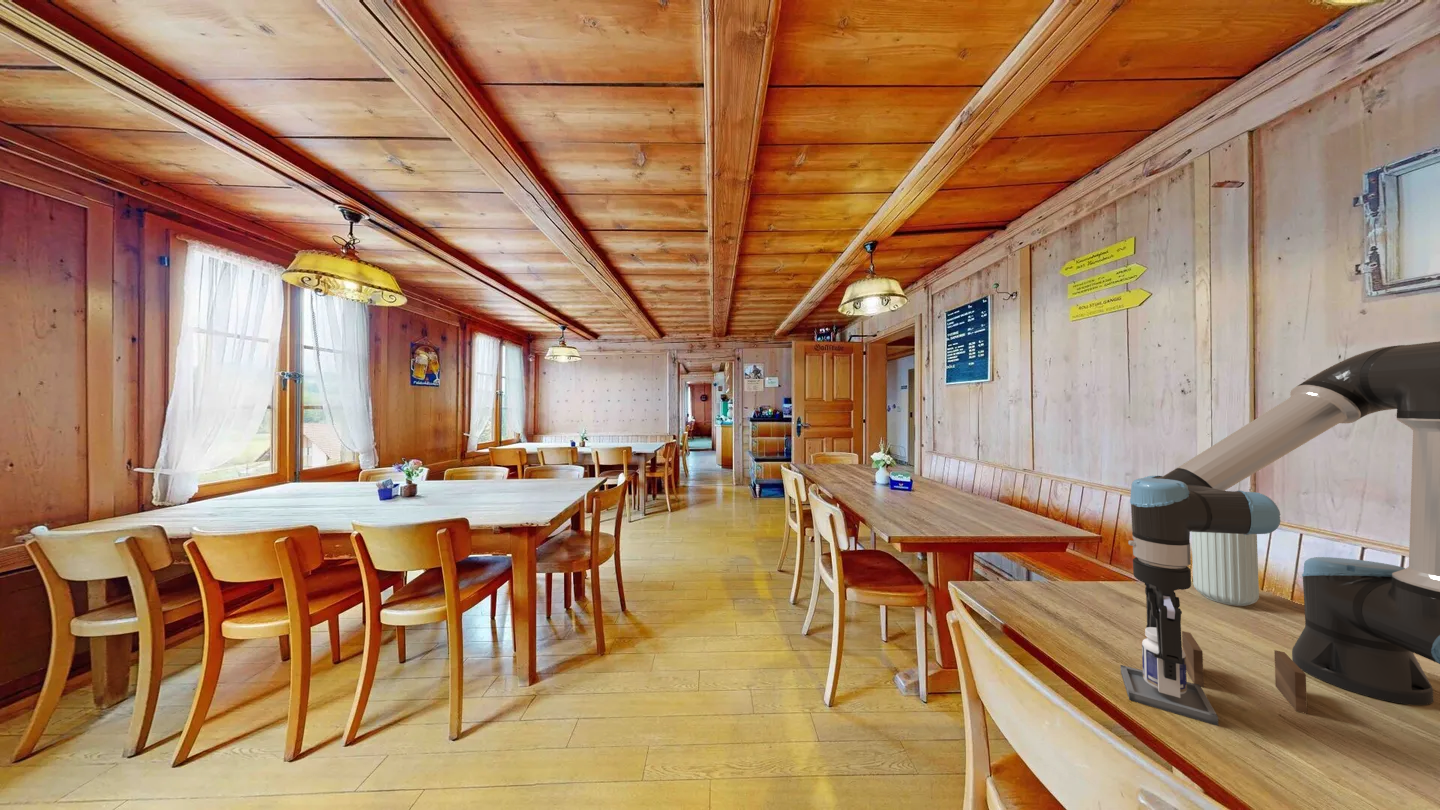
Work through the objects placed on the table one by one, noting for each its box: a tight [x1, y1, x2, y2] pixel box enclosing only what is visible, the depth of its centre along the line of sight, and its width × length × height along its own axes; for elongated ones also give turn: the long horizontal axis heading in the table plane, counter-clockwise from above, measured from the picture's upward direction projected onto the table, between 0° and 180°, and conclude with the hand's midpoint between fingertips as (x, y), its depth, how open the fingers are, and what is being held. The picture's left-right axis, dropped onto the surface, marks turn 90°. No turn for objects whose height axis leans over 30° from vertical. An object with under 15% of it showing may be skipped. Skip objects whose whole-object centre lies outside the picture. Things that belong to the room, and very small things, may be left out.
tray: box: [1120, 664, 1219, 727], centre depth 79 cm, size 11×10×2 cm
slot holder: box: [1181, 630, 1308, 714], centre depth 81 cm, size 13×8×7 cm, turn 53°
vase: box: [1191, 532, 1260, 607], centre depth 115 cm, size 12×12×22 cm
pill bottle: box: [1141, 627, 1188, 694], centre depth 79 cm, size 6×6×10 cm
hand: (1164, 683), depth 79 cm, fingers closed on pill bottle, 6 cm apart
